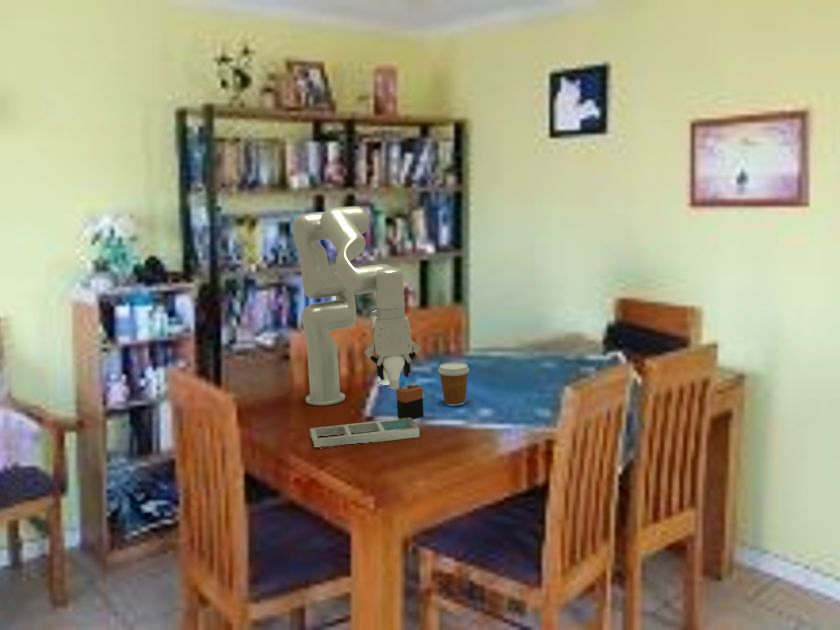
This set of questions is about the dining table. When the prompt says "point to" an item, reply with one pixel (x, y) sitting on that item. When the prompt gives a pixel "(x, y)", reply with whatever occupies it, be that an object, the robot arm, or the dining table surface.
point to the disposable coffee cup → (454, 381)
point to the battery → (410, 401)
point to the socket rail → (383, 429)
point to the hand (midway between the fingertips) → (393, 376)
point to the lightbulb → (393, 369)
